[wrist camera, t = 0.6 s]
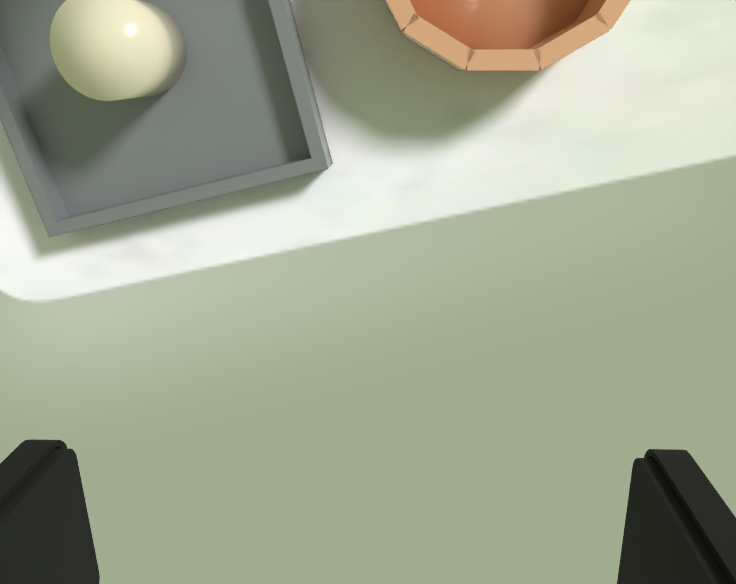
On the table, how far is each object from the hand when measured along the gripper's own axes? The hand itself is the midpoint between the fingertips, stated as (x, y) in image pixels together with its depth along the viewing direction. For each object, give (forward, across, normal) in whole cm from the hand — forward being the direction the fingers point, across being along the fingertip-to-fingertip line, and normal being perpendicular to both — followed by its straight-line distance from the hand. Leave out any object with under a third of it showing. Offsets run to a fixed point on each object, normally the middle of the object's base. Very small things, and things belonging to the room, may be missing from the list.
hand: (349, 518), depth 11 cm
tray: (+31, +14, -8) cm, 35 cm away
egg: (+31, +14, -8) cm, 35 cm away
